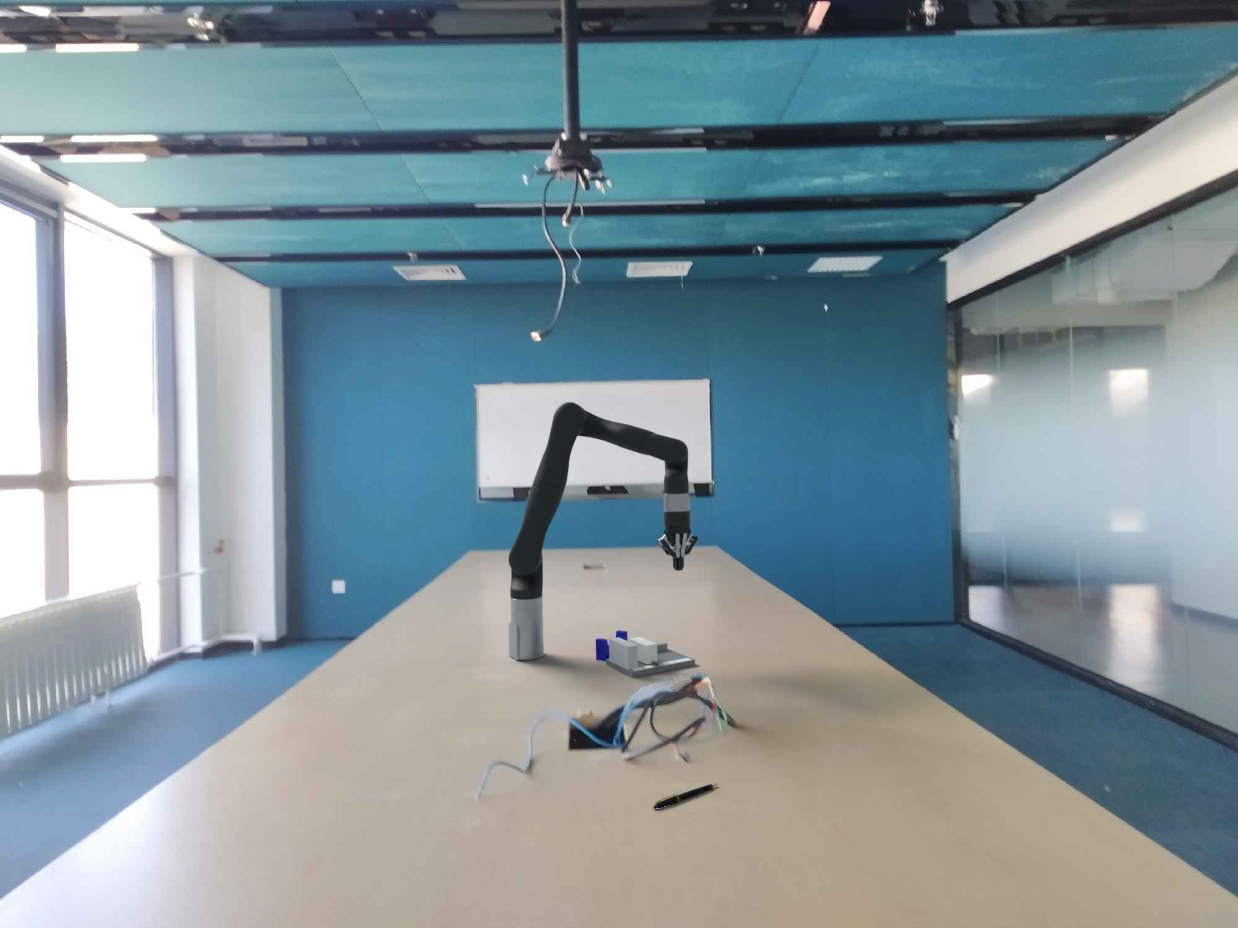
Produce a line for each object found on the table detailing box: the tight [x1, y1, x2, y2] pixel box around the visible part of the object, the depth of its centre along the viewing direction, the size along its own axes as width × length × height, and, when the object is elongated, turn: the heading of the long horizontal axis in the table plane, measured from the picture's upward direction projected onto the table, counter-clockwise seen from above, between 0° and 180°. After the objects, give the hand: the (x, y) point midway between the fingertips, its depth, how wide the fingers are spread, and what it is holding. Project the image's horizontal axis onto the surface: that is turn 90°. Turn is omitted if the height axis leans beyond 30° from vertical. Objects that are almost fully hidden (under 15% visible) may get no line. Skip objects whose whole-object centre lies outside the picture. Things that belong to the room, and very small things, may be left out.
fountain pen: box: [652, 783, 718, 809], centre depth 118 cm, size 14×1×2 cm, turn 125°
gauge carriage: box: [628, 636, 659, 665], centre depth 192 cm, size 4×12×5 cm, turn 30°
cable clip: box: [595, 629, 629, 662], centre depth 205 cm, size 12×4×6 cm, turn 147°
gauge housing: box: [605, 637, 696, 679], centre depth 194 cm, size 20×14×8 cm
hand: (678, 570), depth 201 cm, fingers closed
